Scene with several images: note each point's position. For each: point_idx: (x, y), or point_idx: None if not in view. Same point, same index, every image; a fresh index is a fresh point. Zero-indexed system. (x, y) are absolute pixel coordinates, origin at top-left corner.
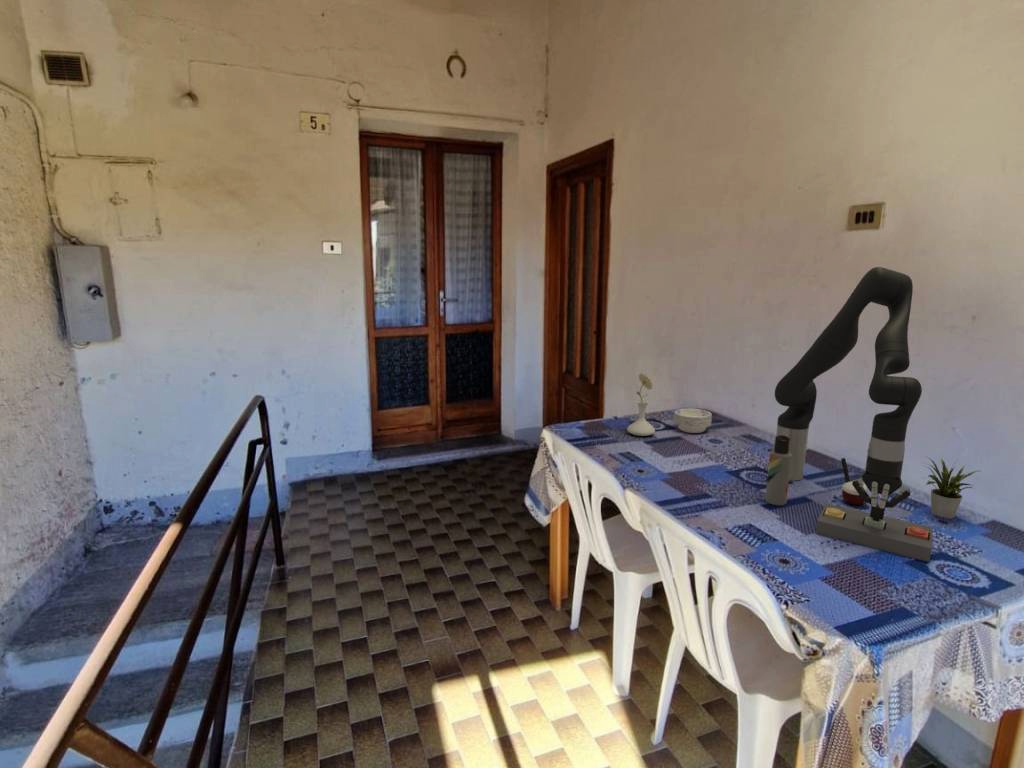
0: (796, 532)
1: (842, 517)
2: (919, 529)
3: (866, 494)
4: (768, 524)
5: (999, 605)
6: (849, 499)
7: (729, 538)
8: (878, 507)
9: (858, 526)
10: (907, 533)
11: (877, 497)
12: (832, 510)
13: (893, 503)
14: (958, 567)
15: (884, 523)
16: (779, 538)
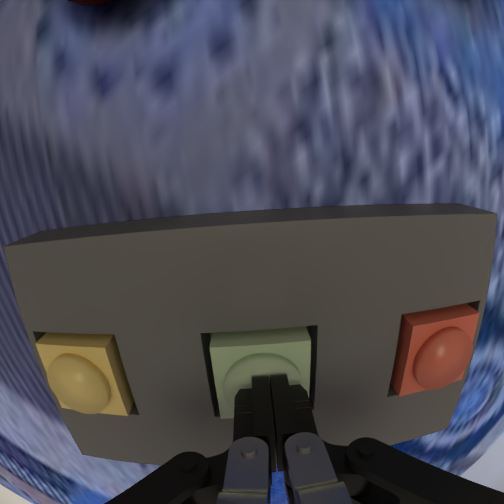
0: (67, 436)
1: (127, 415)
2: (451, 358)
3: (180, 495)
4: (7, 418)
5: (484, 452)
6: (86, 3)
7: (31, 492)
8: (280, 466)
9: (208, 439)
10: (399, 393)
11: (265, 490)
12: (69, 394)
13: (372, 501)
14: (484, 367)
15: (309, 373)
16: (70, 474)
